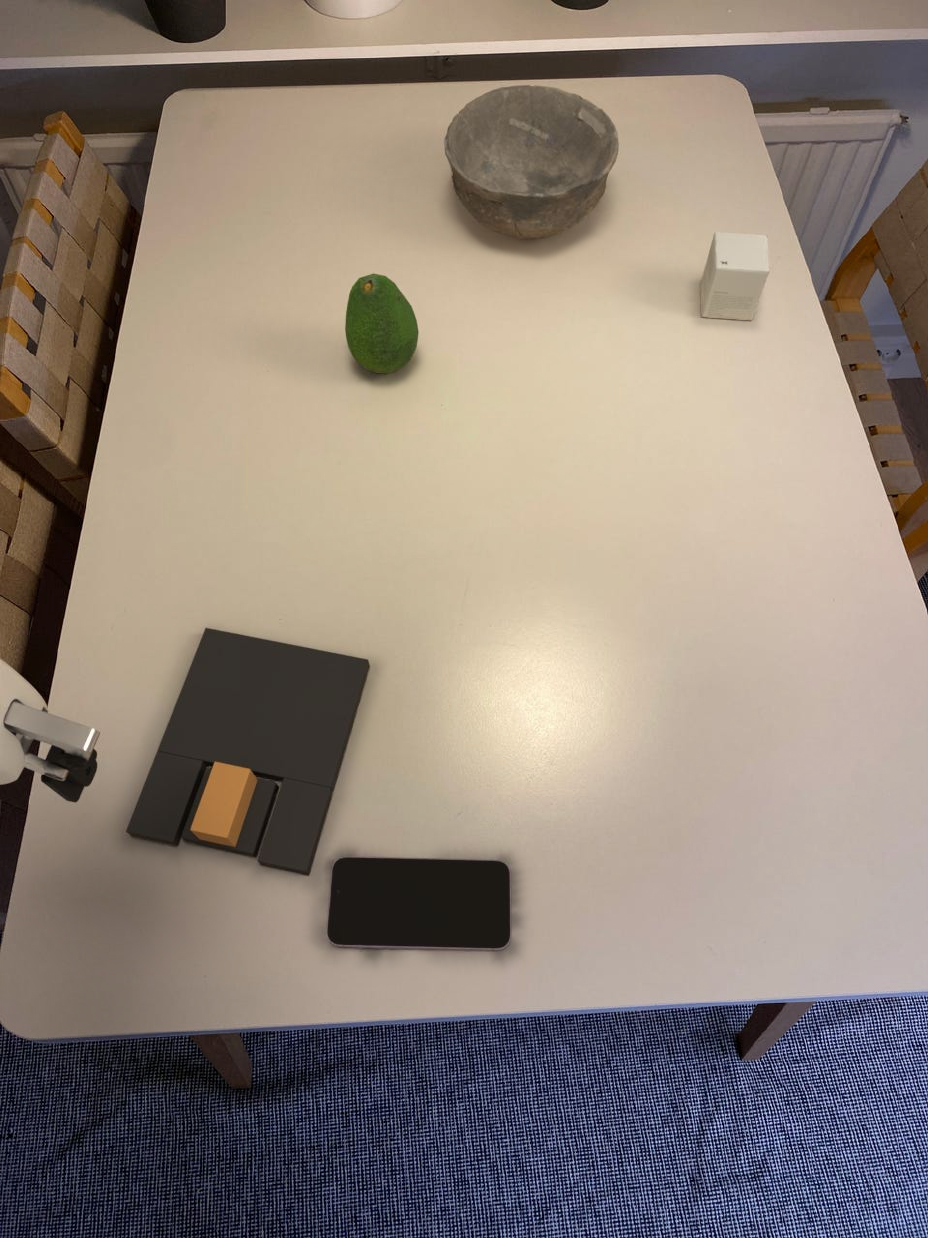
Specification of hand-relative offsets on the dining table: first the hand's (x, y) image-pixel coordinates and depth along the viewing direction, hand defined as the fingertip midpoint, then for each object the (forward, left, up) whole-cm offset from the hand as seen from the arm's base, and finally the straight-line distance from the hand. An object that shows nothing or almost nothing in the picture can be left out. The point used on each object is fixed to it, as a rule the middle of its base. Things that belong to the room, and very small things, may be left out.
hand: (7, 761), depth 55 cm
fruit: (+59, -6, -26) cm, 65 cm away
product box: (+77, -43, -26) cm, 92 cm away
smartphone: (+2, -24, -26) cm, 36 cm away
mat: (+12, -6, -26) cm, 30 cm away
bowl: (+88, -17, -26) cm, 93 cm away
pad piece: (+6, -6, -26) cm, 28 cm away
